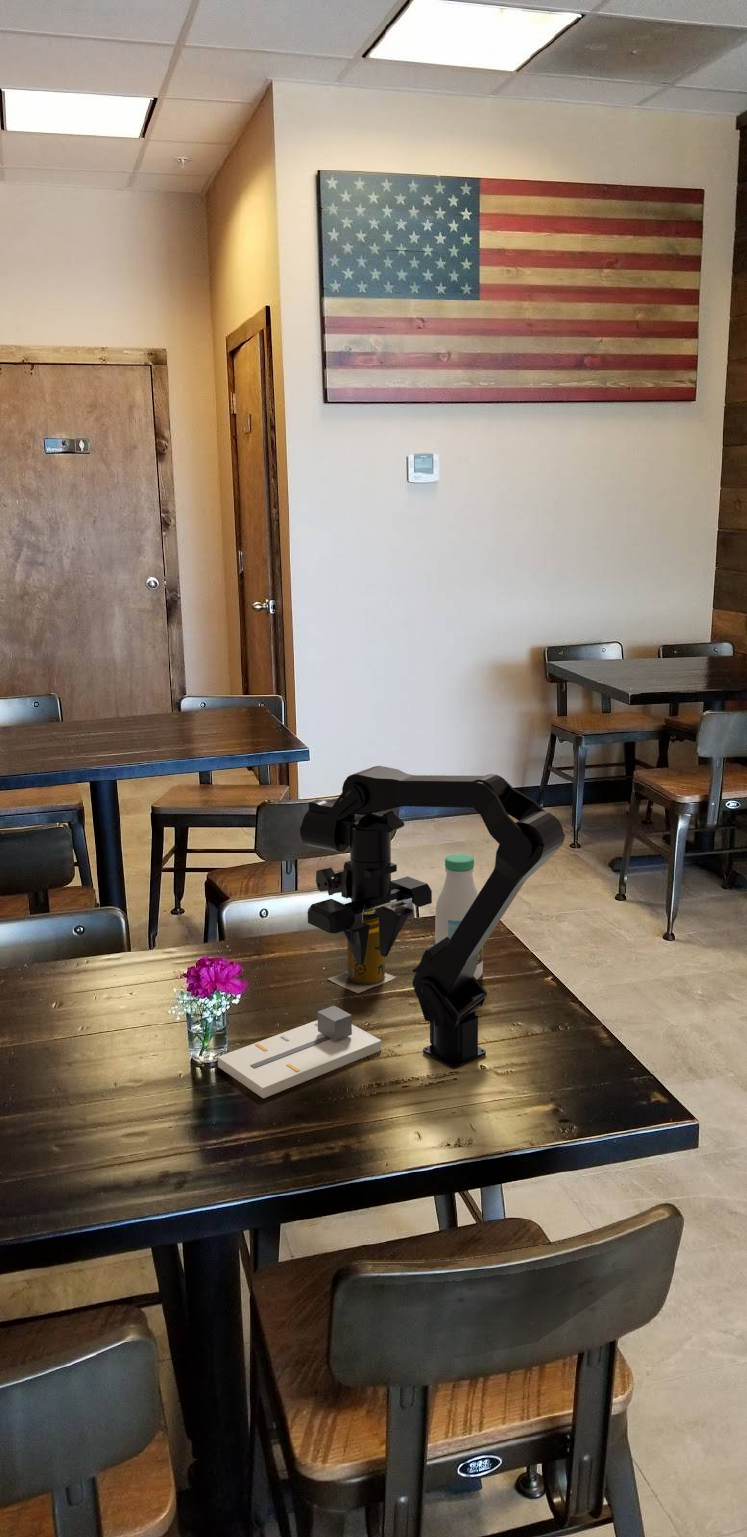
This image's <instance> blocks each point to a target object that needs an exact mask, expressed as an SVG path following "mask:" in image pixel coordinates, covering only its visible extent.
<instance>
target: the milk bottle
mask: <svg viewBox="0 0 747 1537" xmlns="http://www.w3.org/2000/svg"><path fill="white" fill-rule="evenodd" d="M444 867H445V868H444V870H445V872H446V873H445V874H446V876H445V879H444V882H443V885H442V886H441V887H442V888H441V889H440V892H439V894H438V897H437V900H436V904H435V916H434V917H435V918H434V919H435V922H434V923H435V924H434V927H435V928H434V934H435V936H434V941H435V942H434V945H435V944H436V943H438V942H439V941H441V940H442V939H444V938H445V937H448V938H449V939H450V938H451V937H452V935H453V934H454V932H455V931H456V929H457V927H458V926H459V924H460V923H461V921H462V919H463V918H464V916H465V915H466V913H467V912H468V910H469V908H470V907H471V905H472V904H473V902H474V900H475V899H476V897H477V896H478V894H479V893H480V892H479V891H478V888H477V886H476V883H475V882H474V876H473V873H474V871H475V868H474V867H475V858H474V857H473V856H471V855H469V854H464V853H456V854H455V853H454V854H450V855H446V857H445V858H444ZM483 964H484V946H483V947H482V948H481V950H480V951H479V953H478V957H477V968H476V970H475V973H474V975H473V976H474V977H475V978H476V980H477V981H478V980H479V979H480V978H481V977H482V975H483V971H484V970H483V968H484V965H483Z"/></svg>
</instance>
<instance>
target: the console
mask: <svg viewBox="0 0 747 1537" xmlns="http://www.w3.org/2000/svg"><path fill="white" fill-rule="evenodd" d="M381 1051H382V1039H380V1038H378V1037H375V1036H374V1035H372V1034H370V1033H369V1032H367V1031H365V1030H364V1029H361V1028H360V1027H358V1026H356V1025H354V1024H353V1023H352V1035H349V1036H347V1037H344V1038H342V1039H339V1040H337V1041H334V1040H332V1039H331V1038H329V1037H327V1036H325V1035H324V1034H322V1033H320V1032H319V1031H318V1019H316V1020H314V1021H311V1022H308V1023H306V1024H304V1025H301V1026H297V1027H295V1028H292V1029H289V1030H287V1031H284V1032H281V1033H279V1034H276V1035H273V1036H270V1037H268V1038H265V1039H263V1040H259V1041H256V1042H255V1043H252V1044H249V1045H246V1046H244V1047H240V1048H238V1049H236V1050H233V1051H230V1052H227V1053H224V1054H222V1055H219V1056H217V1067H218V1068H219V1069H221V1070H222V1071H223V1072H225V1073H226V1074H228V1075H229V1076H230V1077H232V1078H233V1079H235V1080H236V1081H238V1082H239V1083H240V1084H242V1085H243V1086H245V1087H246V1088H248V1089H249V1090H250V1091H252V1092H253V1093H254V1094H257V1095H258V1096H259V1097H260V1098H262V1099H266V1098H268V1097H271V1096H273V1095H276V1094H278V1093H280V1092H283V1091H285V1090H288V1089H289V1088H293V1087H295V1086H297V1085H300V1084H302V1083H305V1082H306V1081H309V1080H312V1079H314V1078H317V1077H320V1076H321V1075H325V1074H327V1073H329V1072H332V1071H334V1070H336V1069H339V1068H342V1067H344V1066H346V1065H349V1064H351V1063H354V1062H356V1061H358V1060H361V1059H363V1058H366V1057H368V1056H371V1055H373V1054H376V1053H379V1052H381Z"/></svg>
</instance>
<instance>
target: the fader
mask: <svg viewBox="0 0 747 1537" xmlns="http://www.w3.org/2000/svg"><path fill="white" fill-rule="evenodd" d="M316 1013H317V1020H318V1031H319V1032H320V1033H322V1034H324V1035H325V1036H327V1037H329V1038H331V1039H332V1040H334V1041H337V1040H339V1039H342V1038H344V1037H347V1036H349V1035H352V1024H353V1023H352V1014H351V1013H349V1012H347V1011H345V1010H343V1009H342V1008H339V1007H337V1006H336V1005H331V1006H329V1007H327V1008H324V1009H321V1010H318V1011H317V1012H316Z"/></svg>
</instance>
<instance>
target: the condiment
mask: <svg viewBox="0 0 747 1537" xmlns="http://www.w3.org/2000/svg"><path fill="white" fill-rule="evenodd" d="M363 922H364V923H366V924H368V925H370V927H369V934H368V941H367V949H366V956H365V960H364V964H363V965H360V964H358V963H357V962H356V960H355V957H354V955H353V952H352V950H351V947H350V945H349V942H348V940H347V939H346V944H347V949H346V950H347V951H346V952H347V971H344V972H341V973H340V974H337V975H334V976H331V977H329V978H328V977H327V980H329V981H330V982H331V983H335V985H338V986H340V987H342V988H344V989H346V990H350V991H352V992H354V993H357V994H360V993H361V992H365V991H367V990H369V989H372V988H374V987H375V988H376V987H377V986H381V985H383V984H386V983H387V982H389V981H392V980H395V979H396V978H397V976H394V975H392V974H389V973H387V972H386V957H384V956H382V955H381V954H380V946H379V918H378V915H377V913H376V911H375V909H374V910H371V911H368V912H364V914H363Z"/></svg>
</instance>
